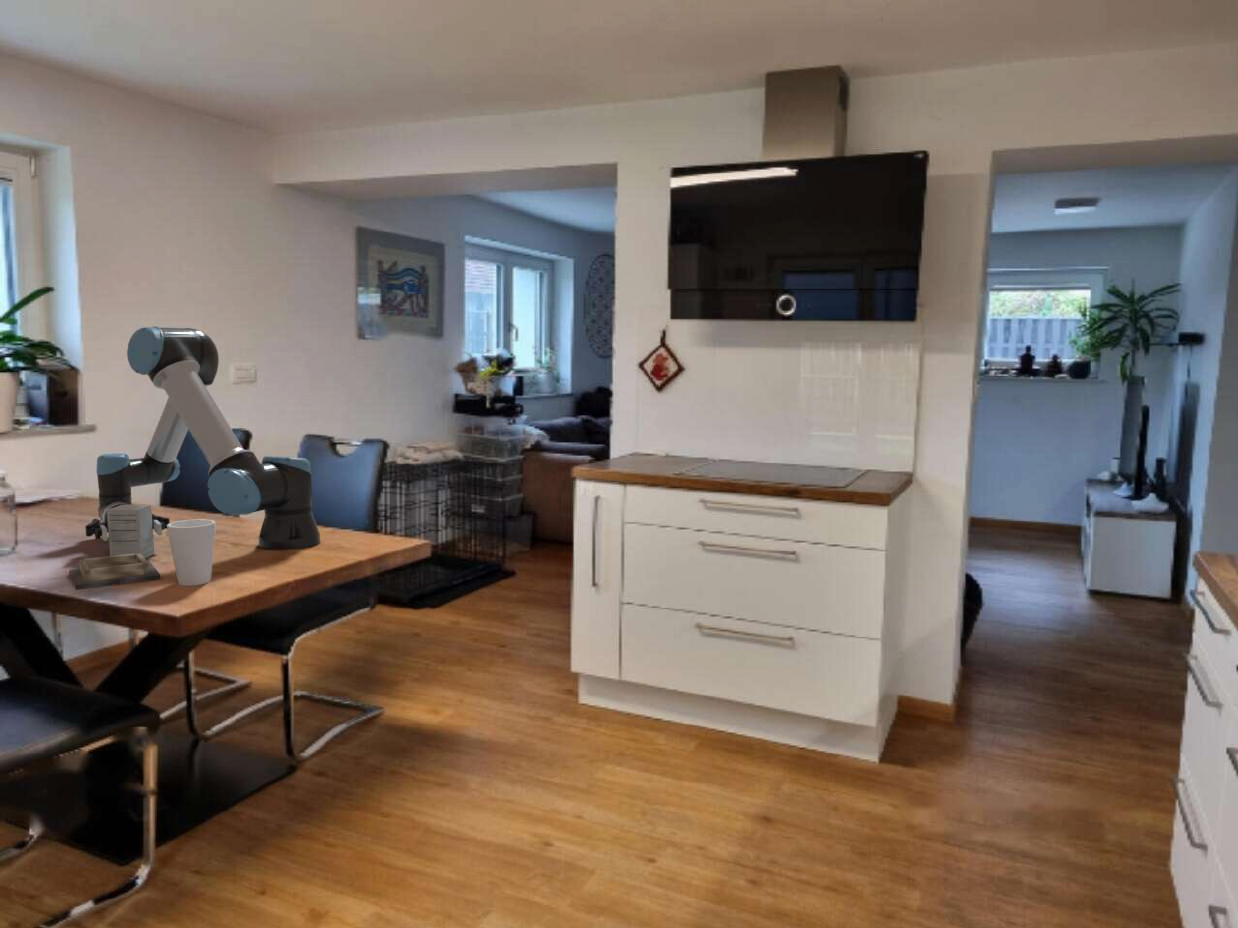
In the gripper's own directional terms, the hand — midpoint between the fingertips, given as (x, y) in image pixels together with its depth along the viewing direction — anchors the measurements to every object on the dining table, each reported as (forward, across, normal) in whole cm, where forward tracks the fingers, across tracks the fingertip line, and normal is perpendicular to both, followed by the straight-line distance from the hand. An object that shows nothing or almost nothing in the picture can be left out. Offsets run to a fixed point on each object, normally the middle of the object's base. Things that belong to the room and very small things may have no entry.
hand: (133, 532), depth 206 cm
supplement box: (-4, 0, -7) cm, 8 cm away
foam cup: (+29, -8, -7) cm, 30 cm away
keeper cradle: (+14, +6, -7) cm, 17 cm away
